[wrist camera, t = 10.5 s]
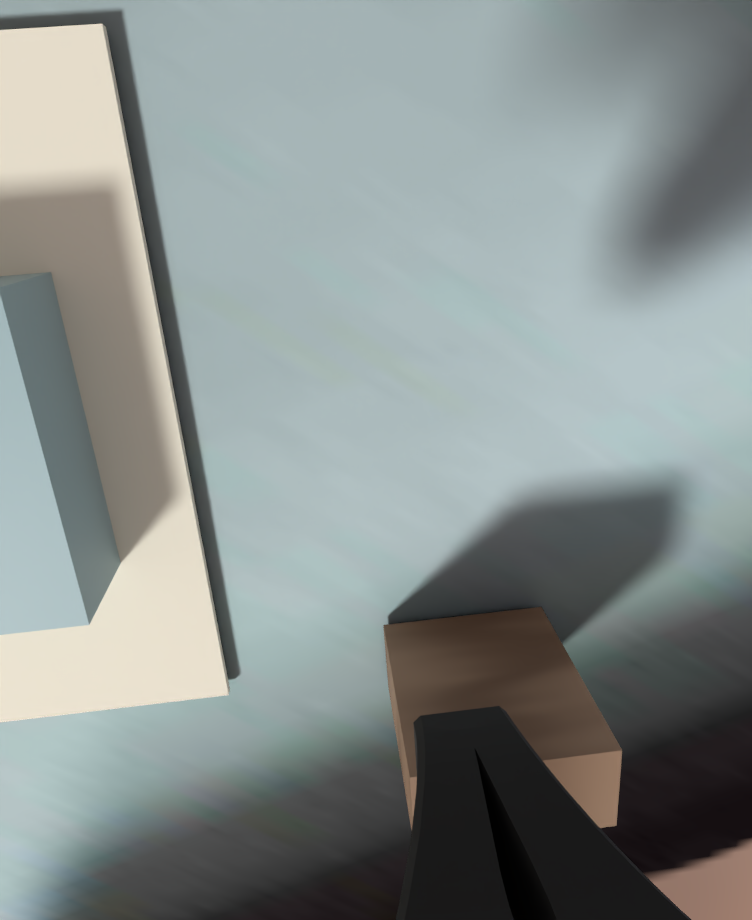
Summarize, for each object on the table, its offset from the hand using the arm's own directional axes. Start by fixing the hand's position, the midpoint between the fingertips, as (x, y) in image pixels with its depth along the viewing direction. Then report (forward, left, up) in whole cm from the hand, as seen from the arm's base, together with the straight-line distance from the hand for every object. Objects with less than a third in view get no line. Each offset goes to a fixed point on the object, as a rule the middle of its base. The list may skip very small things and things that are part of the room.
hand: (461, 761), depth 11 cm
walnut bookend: (-2, +5, -10) cm, 12 cm away
